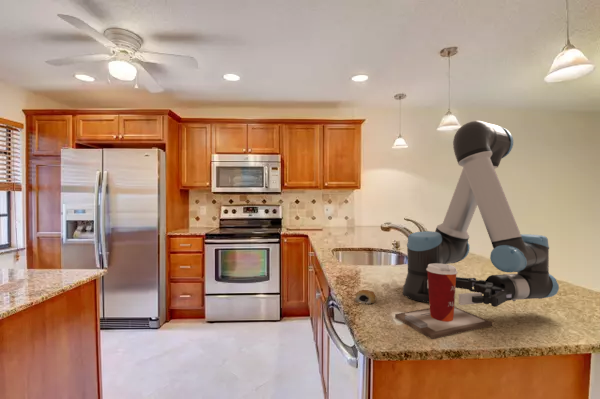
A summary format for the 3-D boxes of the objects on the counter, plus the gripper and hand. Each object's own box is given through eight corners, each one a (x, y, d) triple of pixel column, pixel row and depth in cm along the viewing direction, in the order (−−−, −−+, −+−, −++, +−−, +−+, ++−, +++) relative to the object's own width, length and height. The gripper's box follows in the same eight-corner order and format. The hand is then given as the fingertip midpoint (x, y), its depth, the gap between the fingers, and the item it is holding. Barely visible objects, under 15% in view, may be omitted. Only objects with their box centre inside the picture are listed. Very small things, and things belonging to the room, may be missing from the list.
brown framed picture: (395, 317, 84) (395, 311, 84) (449, 307, 91) (449, 301, 92) (431, 339, 71) (431, 331, 71) (491, 325, 78) (491, 318, 78)
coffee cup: (462, 324, 76) (462, 270, 76) (430, 321, 78) (430, 268, 78) (452, 312, 85) (452, 263, 85) (423, 310, 86) (423, 262, 86)
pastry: (360, 294, 105) (360, 284, 105) (378, 297, 102) (378, 287, 102) (354, 303, 97) (354, 292, 97) (373, 306, 94) (373, 295, 94)
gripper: (548, 316, 72) (476, 322, 68) (473, 287, 96) (417, 290, 93) (548, 287, 72) (476, 292, 68) (473, 265, 96) (417, 268, 93)
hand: (442, 291), depth 81 cm, fingers open, 13 cm apart
